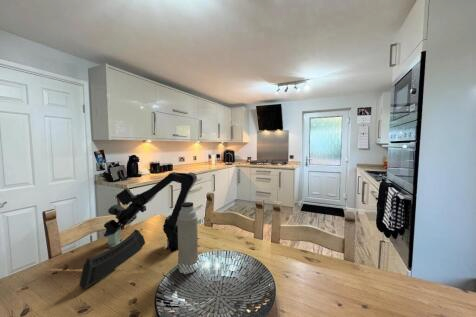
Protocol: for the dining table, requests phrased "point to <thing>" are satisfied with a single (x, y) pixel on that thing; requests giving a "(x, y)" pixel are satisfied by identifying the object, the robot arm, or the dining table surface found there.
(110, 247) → the rack
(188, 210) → the thermos bottle
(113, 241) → the pale green block
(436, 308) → the dining table surface
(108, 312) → the dining table surface
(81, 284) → the magazine
